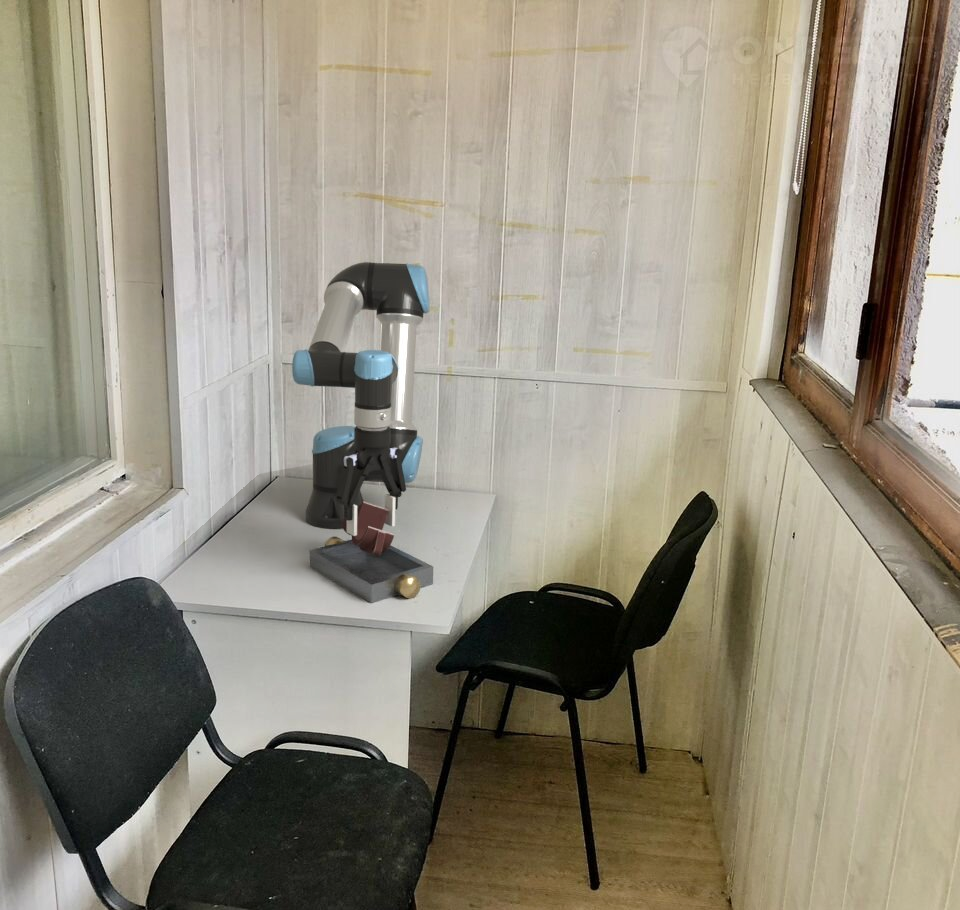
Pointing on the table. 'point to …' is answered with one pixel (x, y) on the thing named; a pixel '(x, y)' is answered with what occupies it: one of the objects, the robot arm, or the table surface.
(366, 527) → the bracket
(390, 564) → the cradle
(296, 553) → the table surface
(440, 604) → the table surface
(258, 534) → the table surface
